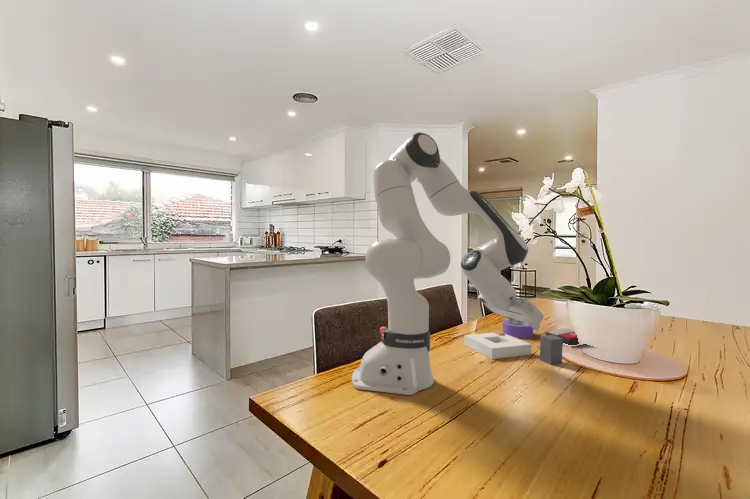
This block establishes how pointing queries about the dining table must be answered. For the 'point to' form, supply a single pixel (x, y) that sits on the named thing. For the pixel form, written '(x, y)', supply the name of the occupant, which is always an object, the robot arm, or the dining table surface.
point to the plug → (551, 349)
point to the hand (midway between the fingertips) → (525, 324)
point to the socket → (497, 345)
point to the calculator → (565, 335)
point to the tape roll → (517, 329)
